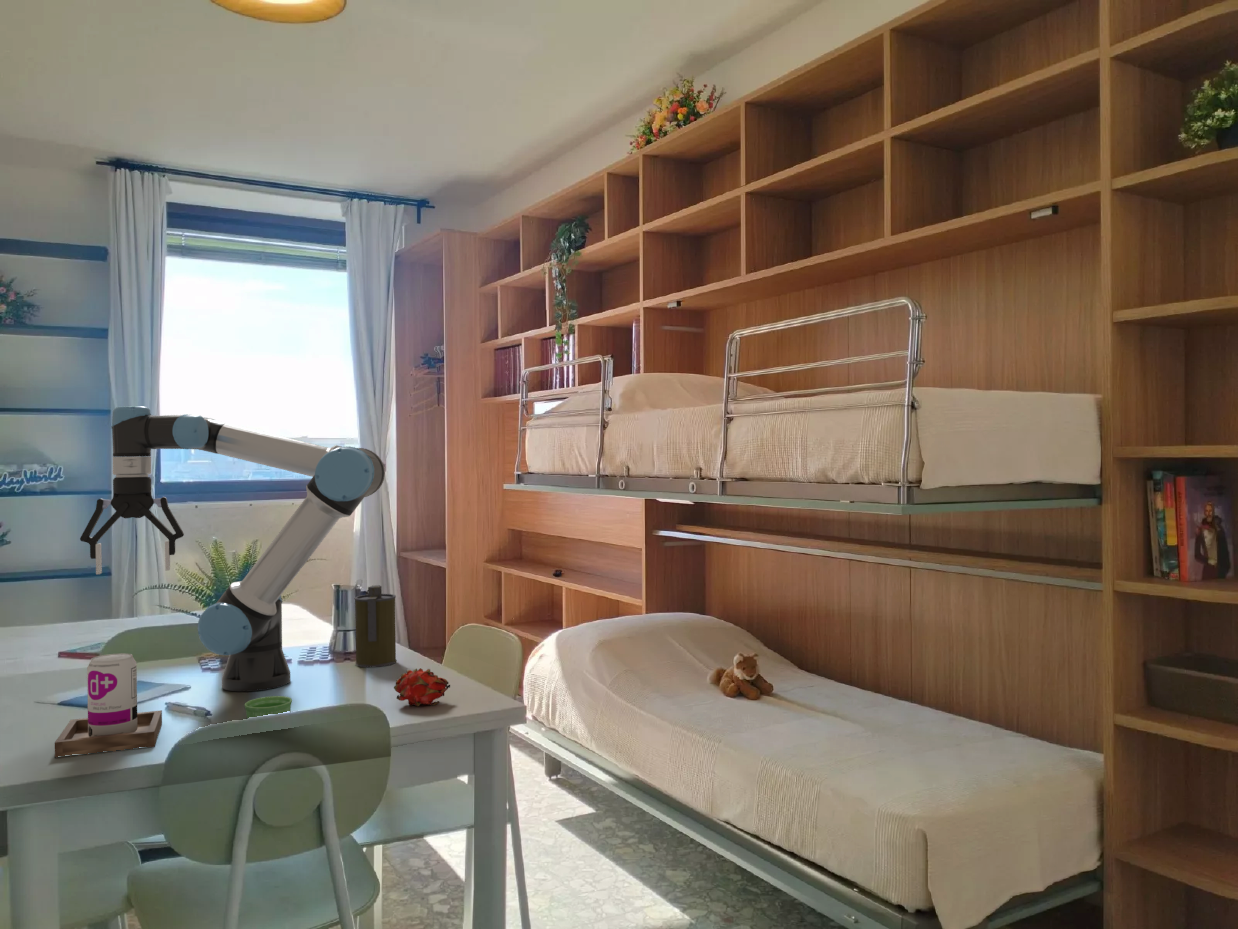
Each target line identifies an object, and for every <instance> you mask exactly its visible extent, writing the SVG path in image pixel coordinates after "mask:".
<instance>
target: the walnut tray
mask: <svg viewBox="0 0 1238 929" xmlns="http://www.w3.org/2000/svg"><path fill="white" fill-rule="evenodd" d="M162 726H163V710H151V711H142V712H137V727H138V729H137V730H136V731H135V732H131V733H122V734H113V735H104V736H95V737H89V736H88V717H83V718H76V719H70V720H69V721H68V723H67V725H66V726H65V727H64V729H63V730H62V731H61V733H60V734H59V735H58V737H57V739H56V740H55V741H54V758H55V757H58V756H65V755H72V754H87V755H89V754H88V753H96V754H98V753H97V752H103V751H113V752H117V751H116V750H121V751H125V750H124V749H130V750H134V749H133V748H138V749H140V748H139V747H147V748H153V747H156V744H157V740H158V737H159V735H160V732H161V729H162Z"/></svg>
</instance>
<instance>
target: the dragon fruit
mask: <svg viewBox="0 0 1238 929" xmlns="http://www.w3.org/2000/svg"><path fill="white" fill-rule="evenodd" d="M450 688H451V684H450V682H449V681H448V680H447V679H445V678H444V677H439V676H438V675H436V674H435V673H434V672H433V671H431V669H430V668H427V669H426V670H424V669H422V668H419V669H418V668H415V669H414V670H411V669H406V673H405V672H404V673H401V675H400V677H399V678H397V680H395V685H394V687H393V689H394V691H395V692H396V693H398V694H397V695H396V699H397V700H398V701H400V702H401V701H407V702H408V703H407V704H408V705H409V706H411V707H412V706H416V707H419V706H420V705H429V706H436V705H438V704H440V700H438V699H439V698H441V697H445V692H447V690H448V689H450ZM435 700H438V701H435Z"/></svg>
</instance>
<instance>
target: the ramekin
mask: <svg viewBox="0 0 1238 929" xmlns="http://www.w3.org/2000/svg"><path fill="white" fill-rule="evenodd" d="M292 703H293V700H292V698H291V697H288V696H286V695H285V696H284V695H283V696H282V695H271V696H263V697H258V698H253V699H250V700H248V701H247V702H245V703H244V709H245V714H246V719H247V718H249V717H257V716H263V715H268V714H278V713H283V712H287V711H290V712H291V710H292V709H291V708H292Z"/></svg>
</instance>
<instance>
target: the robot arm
mask: <svg viewBox="0 0 1238 929" xmlns="http://www.w3.org/2000/svg"><path fill="white" fill-rule="evenodd" d="M111 420H112V421H111V428H110V429H111V431H112V433H111V434H112V435H111V436H112V437H111V438H112V474H113V475H114V476H115V477H114V478H112V499H105V498H98V499H97V500H96V505H95V510H94V512H93V514H92V516H91V517H90V519H89V521H88V523H87V525H86V527H85V529H84V531H83V532H82V534H81V536H80V538H79V540H80V541H81V542H84V543H87V544H88V545H89V555H90V556H89V557H90V559H91V560H93V559H95V574H96V575H101V574H102V573H103V565H102V564H103V562H102V559H103V558H102V553H103V552H102V543H101V542H99V541H100V539H101V538H102V537H103V536H104V535H105V534H106V533H107V532H108V531H109V530H110V528H112V526H113V525H114V524H115V523H116V522H117V521H118V520H119V519H120V518H123V519H131V518H134V519H140V518H144V517H145V518H146V519H147V520H149V521H150V522H151V523H152V524H153V525H154V527H156V528H157V529H158V530H159V531H160V532H161V533H162V535H163V536H165V537H166V538H167V539H168V540H165V541H164V557H165V560H164V561H165V563H164V564H165V565H164V566H165V571H171V556H174V555H175V554H176V540H178V539H181V538H183V536H185V533H184V532H183V530H182V527H181V526H180V525H179V523H178V521H177V519H176V517H175V516H174V514H173V512H172V511H171V508H169V503H168V498H167V497H166V496H162V497H159V498H153V496H152V478H151V476H149V475H151V474H152V457H151V456H152V450H161V449H162V450H199V451H203V452H208V453H211V454H216V455H222V456H226V457H230V458H234V459H237V460H242V461H246V462H251V463H254V464H259V465H261V466H267V467H271V468H275V469H279V470H283V471H288V472H292V473H296V474H300V475H304V476H308V477H312V478H311V479H310V480H309V481H308V483H307V484H306V486H305V488H306V497H305V499H304V500H303V501H302V502H301V504H299V506H298V507H297V509H296V510H295V511H294V512H293V514H292V516H291V517H290V518H289V519H288V521H287V522H286V523H285V524H284V526H283V527H282V528H281V530H280V531H279V532H278V534H277V535H276V536H275V537H274V539H273V540H272V541H271V543H270V544H269V545H268V547H267V548H266V549H265V550H264V552H263V553H262V554H261V556H260V557H259V558H258V559H257V561H256V562H255V563H254V565H253V566H252V567H251V569H249V571H248V573H247V574H246V575H245V576H244V578H243V579H242V580H241V581H240V580H239V581H234V582H231V584H229V586H228V587H227V588H226V590H225V591H224V592H223V593H222V595H221V596H220V598H218V600H217V601H216V603H213V604H211V605H209V606H208V607H207V608H206V609H205V610H204V611H203V612H202V613H201V615H200V617H199V619H198V621H197V632H198V638H199V640H200V642H201V643H202V645H203V647H205V648H206V650H208V651H209V652H211V653H213V654H216V655H219V656H228V658H227V661H226V663H225V664H226V665H225V668H224V670H223V674H222V677H221V689H223V690H225V691H229V692H256V691H257V692H258V691H265V690H271V689H276V688H279V687H283V686H285V685H287V683H288V684H289V683H290V682H291V670H290V666H289V665H288V661H287V658H286V656H285V652H284V651H283V621H282V620H283V616H282V615H283V612H282V610H283V608H282V604H283V599H282V594H283V593H284V592H285V590H286V589H287V588H288V586H289V585H290V584H291V582H292V581H293V580H294V579H295V577H296V576H297V575H298V574H299V572H300V571H301V569H302V568H303V567H304V565H306V563H307V561H308V560H309V559H310V558H311V556H312V555H313V554H314V552H315V551H316V549H318V548H319V546H320V545H321V543H322V542H323V541H324V540H325V538H326V537H327V535H328V534H329V533H330V532H331V530H332V529H333V527H335V525H336V524H337V522H338V521H339V520H340V519H343V518H349V517H351V515H352V514H353V513H354V511H355V510H356V509H357V507H358V506H359V505H360V504H361V502H362V501H363V500H364V499H365V498H367V497H369V496H372V495H373V494H375V493H377V492H378V490H379V489H380V488H381V487H382V485H383V483H384V480H385V476H386V470H385V465H384V463H383V460H382V459H381V457H380V456H379V455H377V453H376V452H374V451H372V450H370V449H367V448H364V447H355V446H341V445H337V444H335V445H333V446H331V447H327V446H322V445H319V444H314V443H311V442H306V441H302V440H297V439H293V438H290V437H285V436H282V435H277V434H273V433H268V432H265V431H260V430H257V429H251V428H248V427H244V426H239V425H235V424H230V423H226V422H222V421H219V420H216V419H213V418H211V417H203V416H202V415H198V414H176V415H175V414H171V415H169V414H168V415H166V414H165V415H156V414H155V415H154V414H153V415H152V414H151V410H150V408H149V407H147V406H138V405H136V406H129V405H128V406H127V405H125V406H123V405H122V406H117V407H115V408H114V409H112V419H111ZM154 504H155V505H157V507H158V508H161V510H162V512H163V513H164V515H165V517H166V519H167V521H168V522H169V524H170V527H172V529H173V531H174V533H172V532H171V530H170V529H169V528H167V526H166V525H165V524H164V523H163V522H162V521H161V520H160V519H159V518H158V517H156V515H155V514H154V513H153V512H152V511H151V510H150V509H151V508H152V507H153V506H154ZM109 506H111V507H112V508H113V509H114V511H115V512H114V513H113V514H112V515H111V517H110V518H109V519H108V520H107V521H106V522H105V523H104V524H103V525H102V526H101V528H99V530H98V531H96V533H95V534H94V535H93V536H91V534H92V532H93V530H94V528H95V527H96V525H97V523H98V522H99V520H100V517H101V515H102V514H103V511H104V510H106V509H108V507H109ZM98 542H99V543H98Z"/></svg>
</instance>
